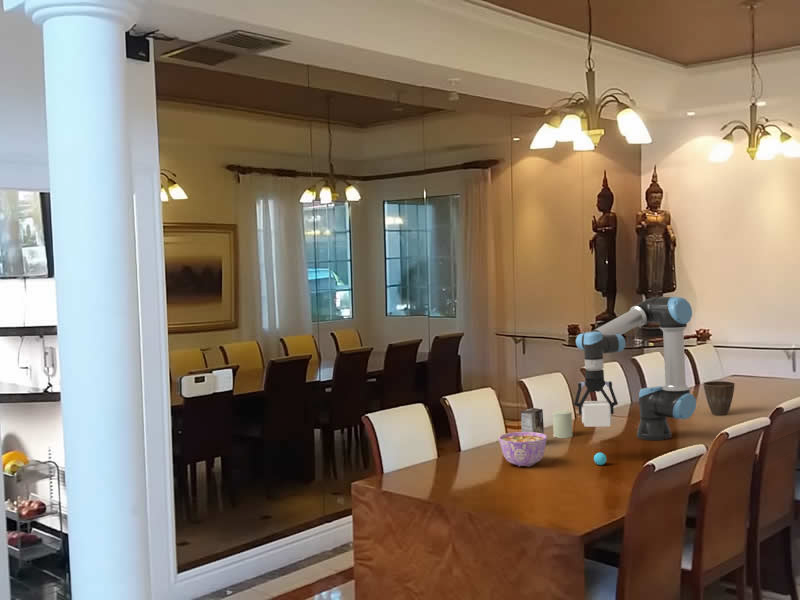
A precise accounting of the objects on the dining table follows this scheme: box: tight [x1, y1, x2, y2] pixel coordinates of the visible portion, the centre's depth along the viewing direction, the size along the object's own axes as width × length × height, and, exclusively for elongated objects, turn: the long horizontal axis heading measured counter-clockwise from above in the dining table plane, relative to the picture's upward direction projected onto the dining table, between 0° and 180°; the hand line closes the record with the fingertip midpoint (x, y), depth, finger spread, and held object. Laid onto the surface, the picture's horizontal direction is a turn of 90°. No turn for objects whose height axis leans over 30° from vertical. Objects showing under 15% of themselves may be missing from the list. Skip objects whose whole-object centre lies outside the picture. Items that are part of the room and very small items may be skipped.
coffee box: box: [520, 407, 545, 434], centre depth 370 cm, size 9×6×16 cm
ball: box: [593, 452, 607, 466], centre depth 328 cm, size 5×5×5 cm
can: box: [551, 409, 574, 439], centre depth 385 cm, size 9×9×12 cm
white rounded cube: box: [582, 400, 611, 428], centre depth 335 cm, size 10×10×9 cm
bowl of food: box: [498, 431, 548, 467], centre depth 336 cm, size 20×20×12 cm
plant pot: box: [703, 380, 736, 417], centre depth 414 cm, size 15×15×16 cm
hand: (596, 422), depth 335 cm, fingers closed on white rounded cube, 10 cm apart
